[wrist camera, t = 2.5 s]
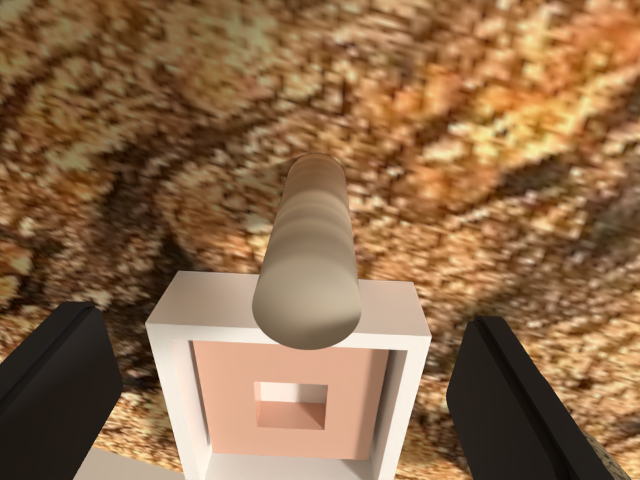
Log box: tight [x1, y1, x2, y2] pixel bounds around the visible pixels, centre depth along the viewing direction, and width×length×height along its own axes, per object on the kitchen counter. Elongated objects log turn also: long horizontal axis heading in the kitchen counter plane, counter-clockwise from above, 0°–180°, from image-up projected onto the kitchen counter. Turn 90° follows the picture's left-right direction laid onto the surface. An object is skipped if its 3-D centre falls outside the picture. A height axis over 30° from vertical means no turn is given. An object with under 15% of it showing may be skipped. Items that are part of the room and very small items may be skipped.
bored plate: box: [193, 340, 389, 460], centre depth 24 cm, size 11×11×2 cm
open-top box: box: [145, 271, 432, 480], centre depth 24 cm, size 16×14×4 cm
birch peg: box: [252, 153, 362, 350], centre depth 14 cm, size 3×3×10 cm
